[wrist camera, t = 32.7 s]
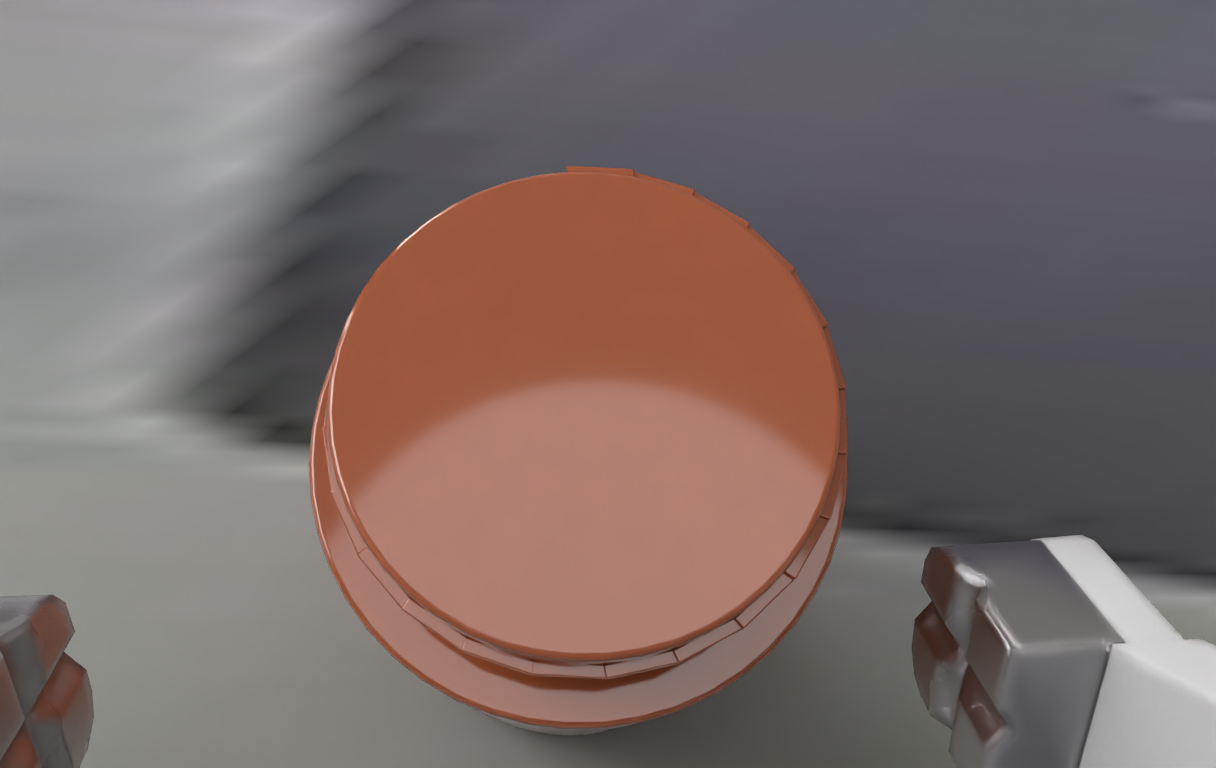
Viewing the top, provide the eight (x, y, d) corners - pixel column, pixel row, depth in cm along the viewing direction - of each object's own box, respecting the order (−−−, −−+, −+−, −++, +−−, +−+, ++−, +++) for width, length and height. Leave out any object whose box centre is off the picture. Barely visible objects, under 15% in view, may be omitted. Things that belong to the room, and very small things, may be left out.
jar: (724, 743, 17) (914, 744, 8) (392, 726, 17) (213, 707, 8) (727, 427, 19) (885, 144, 10) (428, 409, 19) (315, 103, 10)
